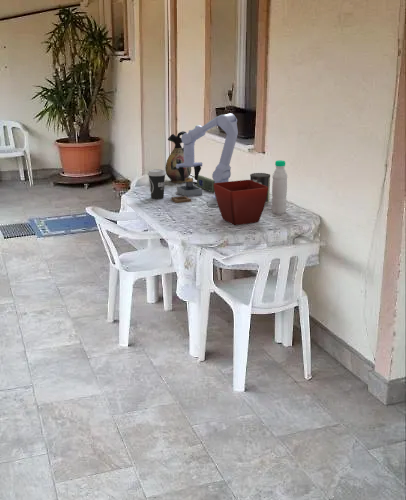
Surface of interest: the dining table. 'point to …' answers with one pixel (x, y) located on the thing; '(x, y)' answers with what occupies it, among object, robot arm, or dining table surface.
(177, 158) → the ceramic jug
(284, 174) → the water bottle
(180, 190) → the cell bin
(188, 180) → the battery cell
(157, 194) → the coffee cup
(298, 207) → the dining table surface
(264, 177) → the coffee can
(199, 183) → the handheld radio
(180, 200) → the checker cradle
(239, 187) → the plant pot
